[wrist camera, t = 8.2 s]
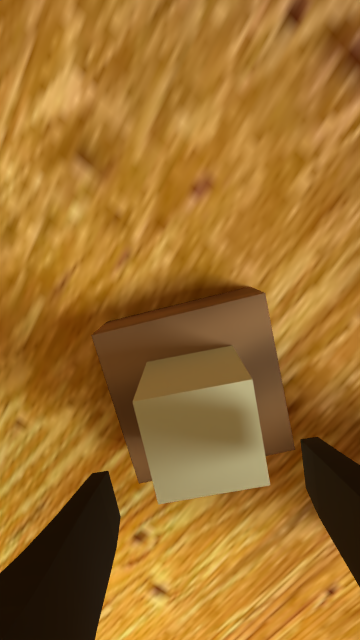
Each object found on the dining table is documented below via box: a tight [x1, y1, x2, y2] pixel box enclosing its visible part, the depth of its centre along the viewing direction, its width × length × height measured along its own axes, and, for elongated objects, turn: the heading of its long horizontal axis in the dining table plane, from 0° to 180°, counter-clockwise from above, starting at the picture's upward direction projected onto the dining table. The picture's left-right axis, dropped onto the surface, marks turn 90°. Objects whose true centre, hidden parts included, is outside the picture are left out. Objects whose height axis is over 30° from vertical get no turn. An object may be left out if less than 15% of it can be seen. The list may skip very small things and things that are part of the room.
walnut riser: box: [92, 287, 295, 483], centre depth 20 cm, size 10×10×4 cm
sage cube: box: [133, 346, 270, 504], centre depth 15 cm, size 5×5×5 cm
